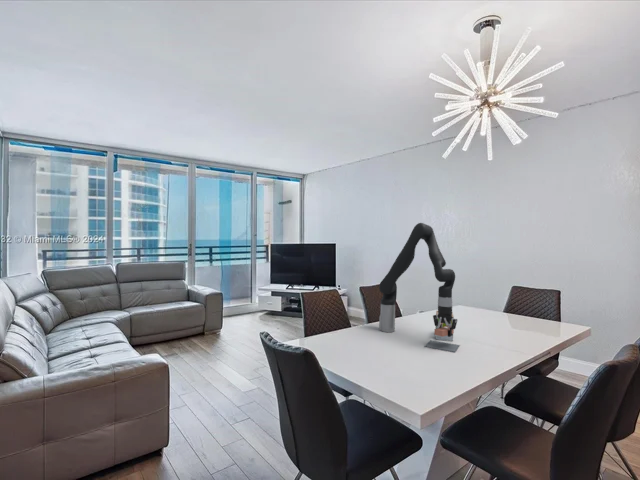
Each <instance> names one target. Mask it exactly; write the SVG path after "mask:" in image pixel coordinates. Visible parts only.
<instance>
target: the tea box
mask: <svg viewBox="0 0 640 480" xmlns="http://www.w3.org/2000/svg"><path fill="white" fill-rule="evenodd" d="M435 315H438V310H436V311H435ZM452 317H453V318H454V317H455V316H454V313H453V311H452ZM454 319H455V318H454ZM438 322H439V318H438ZM448 324H449V323H448ZM451 324H452V320H451ZM444 326H446V324H445V323H443V324H442V327H444ZM451 326H452V325H451ZM437 328H438V327H437V326H435V329H437ZM453 339H454V333H453V334H452V336H451V337H448V335H447V336H443V337H442V336H438V335H435V340H436V341H444V342H445V341H446V342H447V341H448V342H453Z"/></svg>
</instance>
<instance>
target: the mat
mask: <svg viewBox="0 0 640 480" xmlns="http://www.w3.org/2000/svg"><path fill="white" fill-rule="evenodd" d="M423 347H424V348H427V349H434V350H439V351H445V352H450V353H456V352H457V350H458V349H459V348H460V344H456V343H455V344H454V343H451V342H450V343H449V342H445V341H440V340H434V339H433V340H432V339H430V340H429V341H428V342H427V343H425V344H424V346H423Z"/></svg>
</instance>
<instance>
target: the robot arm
mask: <svg viewBox="0 0 640 480" xmlns="http://www.w3.org/2000/svg"><path fill="white" fill-rule="evenodd" d="M420 240H423V241H424V242H425V243H426V246H427V248H428V257H429V259H430V261H431V264H432V266H433V271H434V277H435V279H436V280H437V281H438V282H440V283H443V284H442V285H440V286H439V287H438V296H437V298H438V299H437V311H438V315H436V314H434V315H432V319H433V323H434V326H435V327H436V326H437V327H438V328H441V327H442V324H443V323H445V324H446V326H447V327H448V337H451V336H452V330H453V329H454V330H456V328H457V325H458V324H457V323H458V318H453V317H452V312H453V289H454V285H455V282H456V281H455V280H456V274H455V271H454V270H453V269H451V268H444V267H445V266H446V265H447V262H446V260H445V258H444V255H443V253H442V252H441V250H440V247H439V243H438V242H437V238H436V235H435V232H434V229H433V227H432V226H430V225H429V224H426V223H424V222H418V223H417V224H415V225H414V227H413V229H412V231H411V233H410V235H409V237H408V239H407V240H406V242H405V244H404V246H403V247H402V250H401V251H400V252H399V254H398V255H397V256H396V259H395V261H394V262H393V263H392V265H391V268H390V269H389V271H388V272H387V274H386V275H385V276H384V278H383V279H382V280H381V282H380V283H379V286H378V287H379V289H378V290H379V292H380V293H382V298H381V299H380V315H379V317H378V318H379V319H378V321H379V324H378V327H379V328H378V331H381V332H383V333H394V332H396V331H395V330H396V327H395V326H396V325H395V324H396V301H397V293H398V292H397V289H398V287H397V281H398V280H399V279H400V277H401V276H402V275H403V274H404V273H405V272H406V271H407V270H408V269H409V268H410V266H411V264H412V263H413V261H414V259H415V255H416V254H415V253H416V248H417V245H418V244H419V242H420ZM438 318H439V322H438ZM451 320H452V324H451ZM448 323H449V324H448ZM451 325H452V326H451Z"/></svg>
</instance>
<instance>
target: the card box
mask: <svg viewBox="0 0 640 480" xmlns="http://www.w3.org/2000/svg"><path fill="white" fill-rule="evenodd" d="M433 332H434V333H433V335H434V336H436V335H438V336H442V337H443V336H447V335H448V327H447V326H444V327H441V328H437V329H436V328H435V329H434V331H433ZM454 333H455V329H453V330H452V334H453V335H454Z"/></svg>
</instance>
